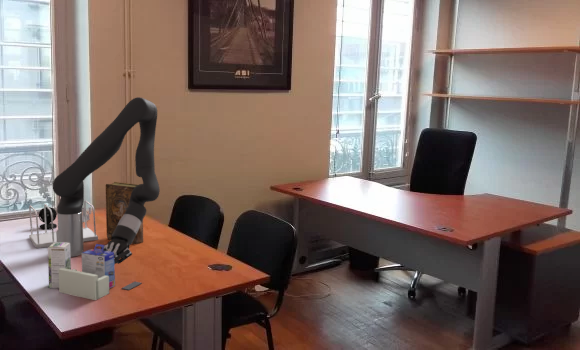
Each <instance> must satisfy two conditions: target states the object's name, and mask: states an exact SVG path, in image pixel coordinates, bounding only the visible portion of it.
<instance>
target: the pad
mask: <svg viewBox="0 0 580 350" xmlns="http://www.w3.org/2000/svg"><path fill="white" fill-rule="evenodd" d="M142 284H143V283H142V282H140V281H132V282H131V283H129V284H127V285H125V286H123V287H122V288H121V290H125V291H130V290H132V289H135V288H136V287H138V286H140V285H142Z"/></svg>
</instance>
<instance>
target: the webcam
mask: <svg viewBox="0 0 580 350" xmlns="http://www.w3.org/2000/svg"><path fill="white" fill-rule="evenodd" d="M48 207H49V208H50V209H51V210H52V215H53V230H54V229H56V228H58V224H56V223H55V220H56V219H57V217H58V216H57V210H56V209H55V208H54V207H51V206H48ZM38 218H39V219H38V220H40V221H41V222H42V223H43V224H40V225H38V228H39V229H40V230H44V231H45V216H44V207H43V208H41V209H40V211H39V212H38ZM46 227H47V230H52V223H51V212H50V210H49V209H48V208H47V207H46Z"/></svg>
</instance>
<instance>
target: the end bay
mask: <svg viewBox="0 0 580 350" xmlns="http://www.w3.org/2000/svg"><path fill="white" fill-rule="evenodd" d="M58 289H59V290H58V292H59V293H61V294H65V295H68V296H69V295H70V296H75V297H78V298H83V299H88V300H93V301H97V300H99V299H101V298H103V297H105V296H107V295H109V294H110V288H109V276H106V275H105V276H103V277H100V278H98V275H95V274H90V273H85V272H82V271H80V270H77V269H75V268H73V269H71V270H70V269H65V268H60V269H59V288H58Z"/></svg>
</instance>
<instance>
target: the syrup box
mask: <svg viewBox="0 0 580 350" xmlns="http://www.w3.org/2000/svg"><path fill="white" fill-rule="evenodd" d="M71 259H72V257H71V255H70V243H66V242H55V243H53V244H52V245H51V246H49V247H47V261H48V262H47V264H48V265H47V266H48V288H49V289H59V269H60V268H65V269H70V270H72V267H71V266H72V264H71V263H72V262H71Z"/></svg>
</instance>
